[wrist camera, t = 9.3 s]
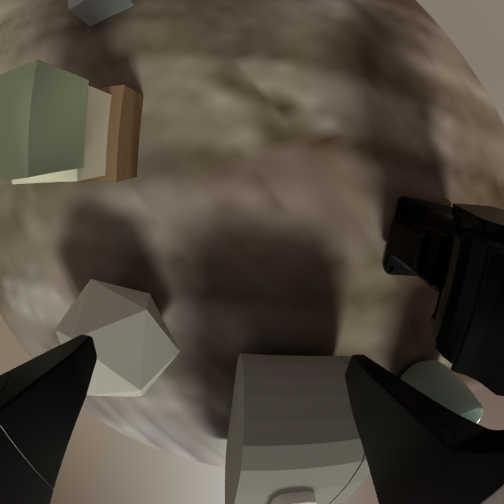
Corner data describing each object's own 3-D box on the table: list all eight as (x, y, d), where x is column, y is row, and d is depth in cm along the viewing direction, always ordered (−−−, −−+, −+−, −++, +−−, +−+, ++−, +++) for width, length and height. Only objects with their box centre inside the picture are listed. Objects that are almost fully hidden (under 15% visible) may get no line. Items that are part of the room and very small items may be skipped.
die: (92, 248, 21) (18, 340, 15) (168, 262, 18) (74, 397, 11) (138, 312, 27) (84, 393, 21) (212, 336, 23) (153, 441, 17)
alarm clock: (298, 452, 31) (315, 537, 18) (225, 452, 30) (225, 542, 17) (347, 327, 24) (414, 444, 12) (241, 322, 24) (248, 466, 11)
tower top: (111, 95, 14) (84, 84, 11) (105, 175, 15) (77, 181, 12) (49, 104, 13) (17, 98, 10) (44, 177, 15) (12, 184, 12)
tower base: (144, 96, 17) (124, 84, 14) (137, 176, 19) (116, 181, 16) (75, 102, 17) (47, 95, 13) (70, 176, 19) (41, 182, 15)
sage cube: (88, 80, 10) (37, 59, 6) (83, 167, 12) (28, 177, 8) (25, 96, 10) (-29, 89, 6) (21, 174, 12) (-34, 187, 7)
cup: (449, 347, 27) (495, 399, 17) (423, 394, 29) (457, 448, 20) (400, 351, 26) (447, 417, 16) (375, 402, 28) (406, 466, 19)
